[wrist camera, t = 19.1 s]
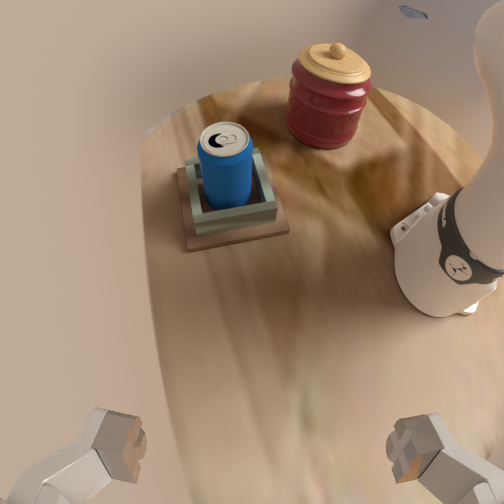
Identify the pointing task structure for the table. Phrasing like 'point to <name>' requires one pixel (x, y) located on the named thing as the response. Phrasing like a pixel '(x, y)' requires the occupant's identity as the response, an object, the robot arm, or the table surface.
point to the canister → (327, 95)
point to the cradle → (234, 219)
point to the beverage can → (226, 165)
